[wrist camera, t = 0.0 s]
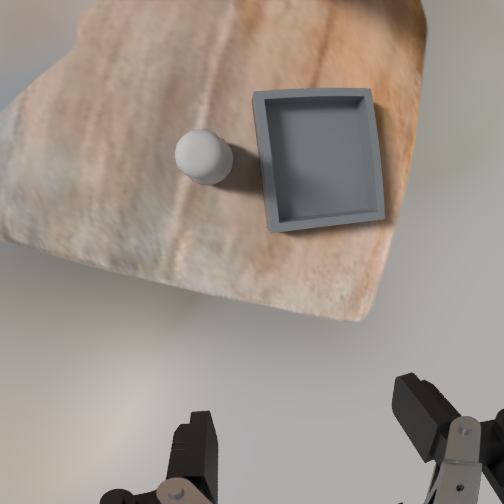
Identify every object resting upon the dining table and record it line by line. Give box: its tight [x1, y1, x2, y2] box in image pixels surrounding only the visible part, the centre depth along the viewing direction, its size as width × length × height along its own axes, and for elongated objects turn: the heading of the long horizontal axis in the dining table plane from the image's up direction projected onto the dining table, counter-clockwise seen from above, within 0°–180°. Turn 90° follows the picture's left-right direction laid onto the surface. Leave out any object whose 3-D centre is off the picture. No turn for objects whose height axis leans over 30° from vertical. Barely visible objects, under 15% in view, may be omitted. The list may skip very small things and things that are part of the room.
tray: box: [252, 88, 385, 233], centre depth 36 cm, size 16×14×4 cm
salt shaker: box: [175, 129, 234, 185], centre depth 31 cm, size 6×6×13 cm
